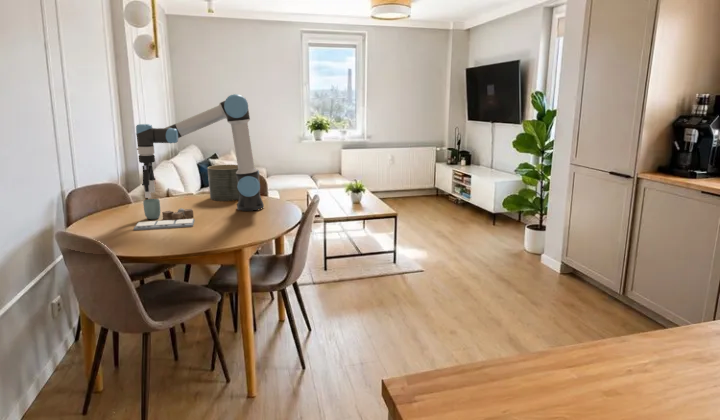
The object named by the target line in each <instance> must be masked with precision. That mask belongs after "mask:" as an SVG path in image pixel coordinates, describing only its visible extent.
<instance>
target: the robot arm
mask: <svg viewBox="0 0 720 420" xmlns="http://www.w3.org/2000/svg"><path fill="white" fill-rule="evenodd" d="M248 103H249V102H248V100H247V99H246V97H244V96H243V95H241V94H239V93H233V94H230V95H228V96H227V98H225V100H223V101H221V102H219V104H218V105H217V106H214V107H211V108H210V109H207V110H204V111H202V112H199V113H198V114H194V115H193V116H191V117H188V118H186V119H183V120H181V121H178V122H176V123H174V124H172V125H169V126H167V127H163V128H161V127H160V128H159V127H157V128H155V127H153V126H152V124H149V123H138V124H136V127H135V131H136V133H135V135H136V141H137V148H136V150H137V152H138V162H139V164H140V163H141V164H143V165H142V183H141V186H143V191H144V192H143V193H144V198H145V199H152V195H151V194H152V193H156V189H155V187H156V186H155V181H156V177H155V174H154V169H153V163H155V162H156V158H155V157H156V156H155V155H154V154H155V145H154V144H175V143H176V144H177V143H178V141H179V139H180V138H182V137H184V136H185V137H186V136H187V135H190V134H191V133H193V132H196V131H198V130H200V129H203V128H206V127H208V126H210V125H212V124H215V123H217V122H219V121H223V120H224V119H225V120H227V123H228V124H230V127H231V133H232V139H233V145H234V152H235V157H236V165H238V170H237V172H236V177H237V183H238V184H237V188H238V190H239V195H240V196H239V200H237V204H236V209H237V210H238V211H240V210H242V211H241V212H254V211H253V210H257V211H259V210H258V209H261V208H263V207H265V205H264V202H263V200H262V197H261V183H260V182H261V181H260V171H259V169H257V168H255V163H254V158H253V150H252V144H251V143H252V142H251V138H250V137H251V136H250V130H249V125H248V124H249V121H250V120H251V118H250V112H249V111H250V110H249V104H248ZM263 209H264V208H263ZM261 210H262V209H261Z"/></svg>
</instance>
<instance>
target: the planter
mask: <svg viewBox="0 0 720 420" xmlns="http://www.w3.org/2000/svg"><path fill="white" fill-rule="evenodd" d="M237 170H238V165H237V164H216V165H210V166H208V167H207V177H208V178H207V179H208V187H209V197H210V200H212V201H216V202H233V200H234V201H238V200H239V196H240V195H239V190H238V188H237V184H238V183H237V177H236V172H237Z"/></svg>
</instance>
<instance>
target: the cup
mask: <svg viewBox="0 0 720 420" xmlns="http://www.w3.org/2000/svg"><path fill="white" fill-rule="evenodd" d="M142 204H143V205H142V206H143V211H144V215H145V217H146V219H148V220H157V219H159V218H160V216H161V202H160V199H159V198H146V199H144V200H142Z"/></svg>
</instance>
